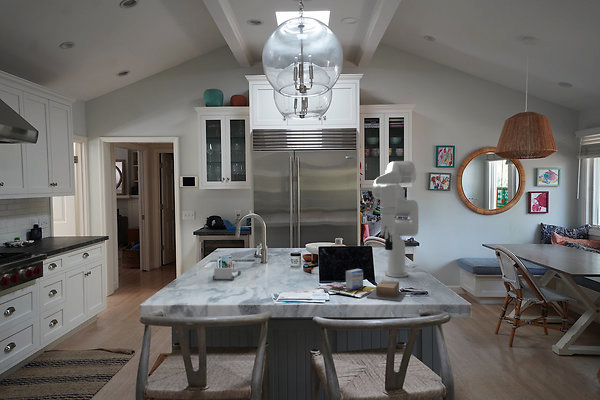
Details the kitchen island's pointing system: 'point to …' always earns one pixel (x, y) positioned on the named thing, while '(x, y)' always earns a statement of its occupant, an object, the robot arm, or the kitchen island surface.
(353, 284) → the medicine box
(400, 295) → the charcoal mat
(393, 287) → the brown wooden block
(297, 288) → the kitchen island surface
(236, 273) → the grey desk organizer
